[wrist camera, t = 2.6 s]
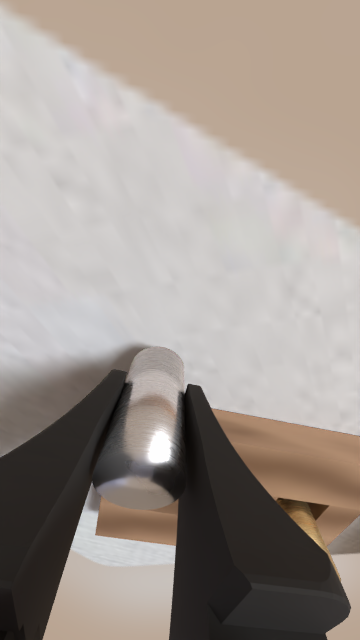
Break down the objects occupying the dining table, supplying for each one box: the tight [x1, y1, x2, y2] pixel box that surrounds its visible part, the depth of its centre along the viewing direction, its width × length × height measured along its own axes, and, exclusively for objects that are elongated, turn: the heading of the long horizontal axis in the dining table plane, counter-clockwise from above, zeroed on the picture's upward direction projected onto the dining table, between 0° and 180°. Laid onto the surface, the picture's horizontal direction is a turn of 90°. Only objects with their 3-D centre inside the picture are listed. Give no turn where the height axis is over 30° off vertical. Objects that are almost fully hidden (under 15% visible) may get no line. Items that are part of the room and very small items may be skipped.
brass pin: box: [276, 497, 341, 582], centre depth 17 cm, size 3×3×6 cm
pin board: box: [95, 409, 360, 546], centre depth 18 cm, size 14×20×2 cm
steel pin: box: [92, 347, 186, 510], centre depth 10 cm, size 3×3×6 cm
